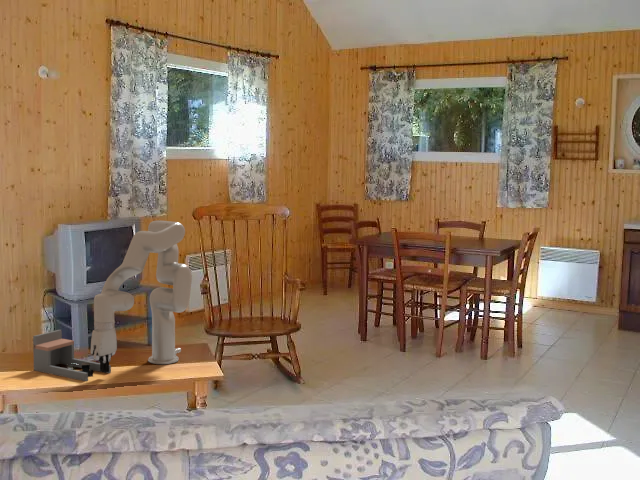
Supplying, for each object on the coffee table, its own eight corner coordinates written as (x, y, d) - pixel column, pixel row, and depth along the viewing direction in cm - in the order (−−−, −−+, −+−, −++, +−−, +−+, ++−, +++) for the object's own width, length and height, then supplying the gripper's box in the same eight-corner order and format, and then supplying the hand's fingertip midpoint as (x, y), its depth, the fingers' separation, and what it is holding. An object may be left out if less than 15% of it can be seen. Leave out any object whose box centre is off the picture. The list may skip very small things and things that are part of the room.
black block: (94, 379, 291) (94, 367, 290) (75, 380, 289) (75, 368, 288) (95, 370, 303) (95, 359, 302) (76, 371, 301) (76, 359, 300)
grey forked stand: (59, 362, 311) (59, 329, 309) (110, 372, 298) (110, 338, 296) (33, 370, 299) (33, 336, 297) (85, 381, 286) (85, 345, 284)
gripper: (110, 321, 296) (110, 365, 298) (82, 328, 283) (83, 375, 285) (125, 323, 293) (125, 368, 295) (97, 330, 280) (98, 378, 282)
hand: (104, 371), depth 290 cm, fingers closed
